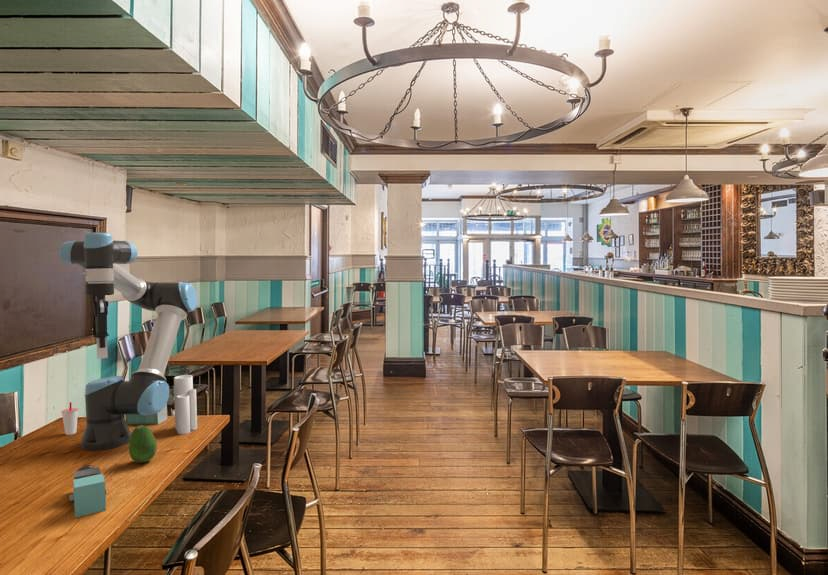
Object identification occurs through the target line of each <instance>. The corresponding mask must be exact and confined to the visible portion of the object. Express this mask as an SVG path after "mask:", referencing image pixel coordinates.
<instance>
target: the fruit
mask: <svg viewBox="0 0 828 575" xmlns="http://www.w3.org/2000/svg"><path fill="white" fill-rule="evenodd" d="M157 445H158V444H157V440H156V437H155V435H154V434H153V432H152V430H151V429H150V427H148V426H147V425H145V424H139V425H137V426H135V428H133V430H132V432H131V438H130V441H129V443H128V453H129V457H130V458H131V459H132V460H133V461H134V462H135V463H139V464H140V463H146V462H149V461H150V460H152V459H153V458H154V456H156V453H157V448H158V446H157Z"/></svg>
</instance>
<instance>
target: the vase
mask: <svg viewBox="0 0 828 575" xmlns="http://www.w3.org/2000/svg"><path fill="white" fill-rule="evenodd" d="M193 380H194V376H193V375H191V374H182V375H177V376H174V377H173V388H174V390H173V394H174V395H173V396H174V423H175V424H174V426H175V430H176V431H177V434H178V435H187V434H190V433H191V431H196V430H198V412H197V407H198V406H197V405H198V404H197V389H196V388H194V383H193V382H194V381H193Z"/></svg>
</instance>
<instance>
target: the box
mask: <svg viewBox="0 0 828 575" xmlns="http://www.w3.org/2000/svg"><path fill="white" fill-rule="evenodd" d="M167 403H168V402H167ZM167 403H166V405H165V407H164V408H163V409H162V410H161V411H160V412H158V413H156V414H149V415H125V421H126V423H127V425H160V424H162V423H164V422H165V421H167V420H168V418H169V417H168V405H167Z"/></svg>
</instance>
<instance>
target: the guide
mask: <svg viewBox="0 0 828 575" xmlns="http://www.w3.org/2000/svg"><path fill="white" fill-rule="evenodd" d="M76 471H77V470H76ZM76 471H73V480H75V479H79V478H84V477H89V476H93V475H99V474H102V473H101V469H100V466H97V467H95V468H92V469H87V470H82V471H77V472H76ZM106 495H107V491H106V488H105V496H106ZM68 499H69V504H72V503H74V493H72V494H71V493H70V494H68Z"/></svg>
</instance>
